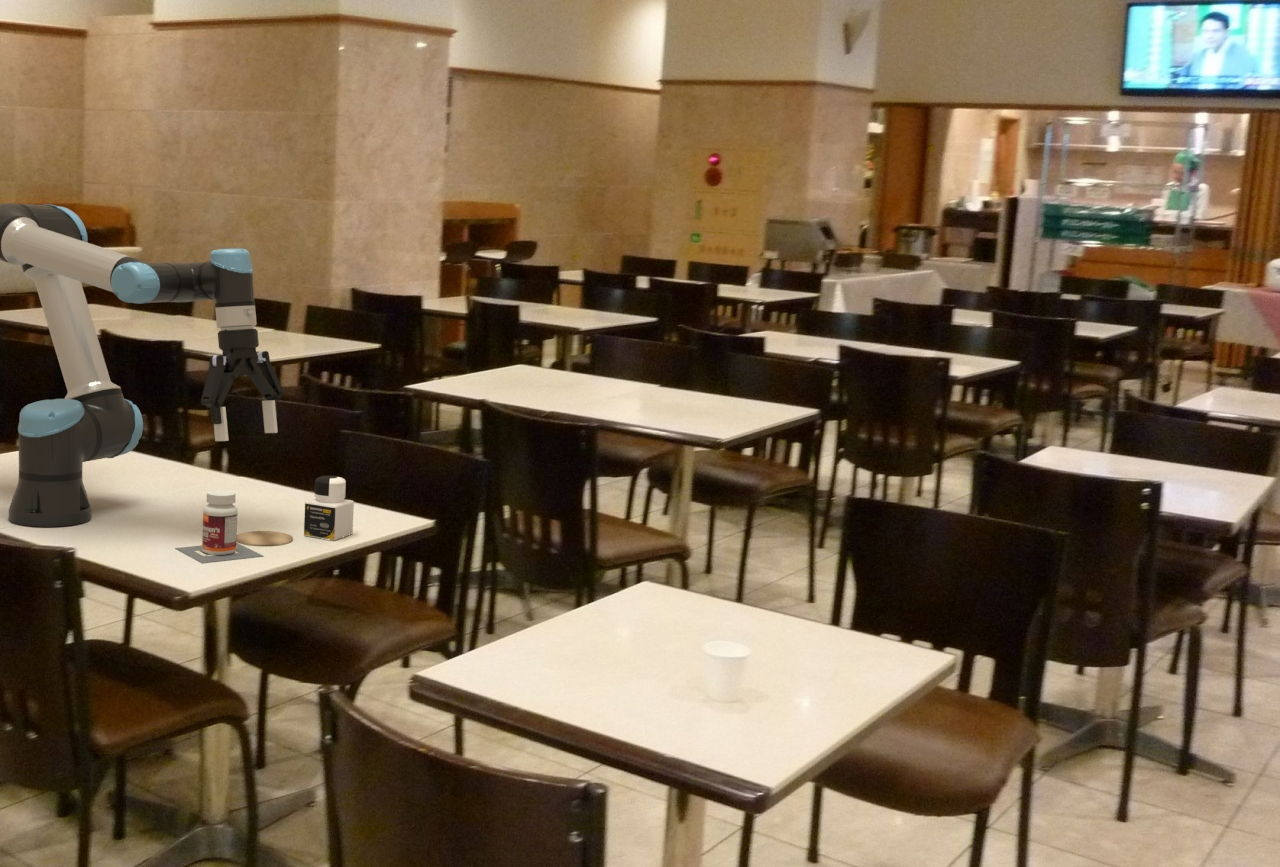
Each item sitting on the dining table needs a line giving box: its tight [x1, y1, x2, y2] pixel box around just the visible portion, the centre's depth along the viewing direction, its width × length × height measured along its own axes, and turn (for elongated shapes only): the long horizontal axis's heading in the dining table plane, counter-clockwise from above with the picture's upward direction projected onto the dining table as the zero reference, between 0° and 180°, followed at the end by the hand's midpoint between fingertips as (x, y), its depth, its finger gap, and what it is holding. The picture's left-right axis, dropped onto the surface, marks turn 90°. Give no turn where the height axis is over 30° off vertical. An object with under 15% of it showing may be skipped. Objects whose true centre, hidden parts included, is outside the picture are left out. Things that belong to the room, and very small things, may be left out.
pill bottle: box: [201, 489, 238, 555], centre depth 257 cm, size 6×6×11 cm
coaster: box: [236, 530, 294, 547], centre depth 270 cm, size 11×11×1 cm
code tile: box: [174, 542, 264, 564], centre depth 258 cm, size 12×12×1 cm
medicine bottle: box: [303, 475, 355, 541], centre depth 276 cm, size 7×7×12 cm
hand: (247, 437), depth 270 cm, fingers open, 13 cm apart
